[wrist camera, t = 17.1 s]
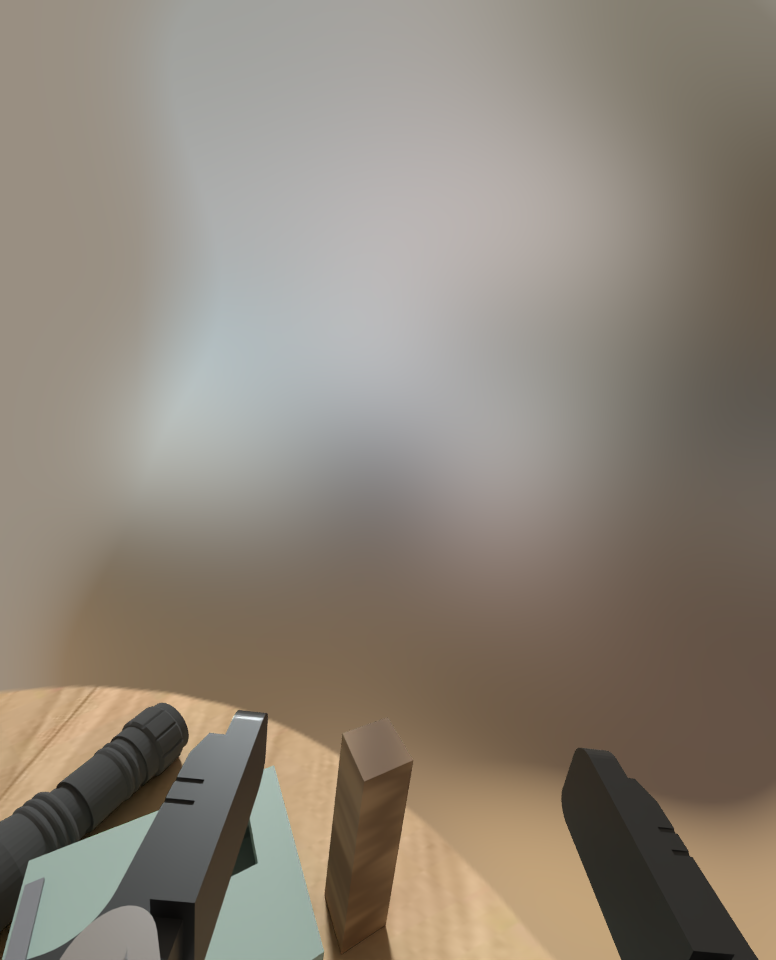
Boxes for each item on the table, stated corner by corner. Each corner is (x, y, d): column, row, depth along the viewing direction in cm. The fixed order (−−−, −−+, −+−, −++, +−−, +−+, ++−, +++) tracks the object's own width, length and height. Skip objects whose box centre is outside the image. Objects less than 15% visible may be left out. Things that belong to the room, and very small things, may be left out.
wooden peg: (341, 954, 24) (364, 781, 21) (324, 894, 27) (342, 733, 23) (385, 925, 26) (413, 759, 22) (365, 871, 28) (387, 717, 25)
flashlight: (152, 733, 37) (151, 686, 36) (195, 756, 35) (195, 708, 34) (-84, 933, 23) (-99, 868, 22) (-33, 989, 21) (-47, 921, 20)
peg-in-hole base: (-43, 1299, 14) (-71, 1212, 13) (38, 932, 23) (28, 857, 22) (315, 1024, 21) (324, 947, 20) (270, 824, 30) (274, 762, 29)
